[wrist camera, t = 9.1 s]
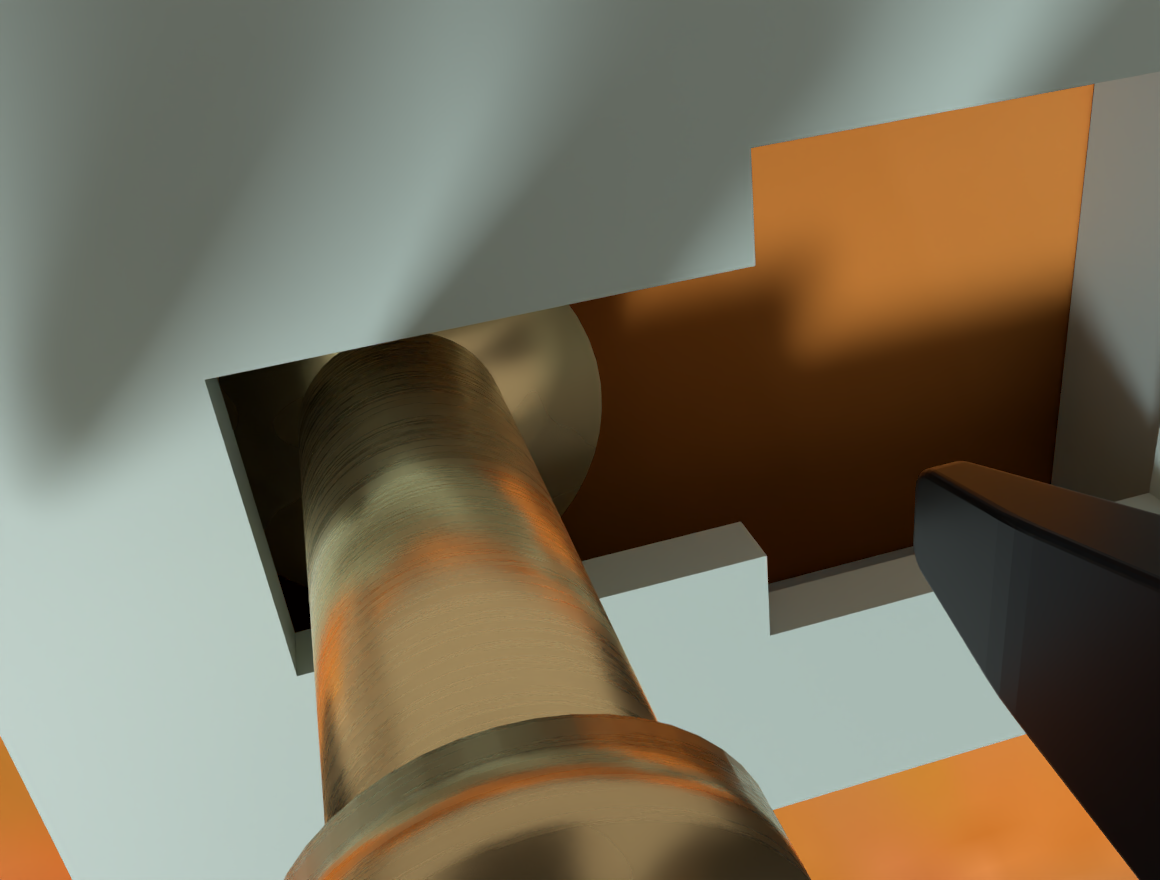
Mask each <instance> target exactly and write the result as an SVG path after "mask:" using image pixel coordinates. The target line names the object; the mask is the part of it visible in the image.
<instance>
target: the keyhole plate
mask: <svg viewBox="0 0 1160 880" xmlns="http://www.w3.org/2000/svg"><path fill="white" fill-rule="evenodd" d="M1090 84H1095V85H1094V94H1093V103H1092V112H1091V122H1090V131H1089V140H1088V149H1087V158H1086V168H1085V177H1084V186H1083V195H1082V204H1081V213H1080V223H1079V232H1078V241H1077V250H1076V259H1075V269H1074V278H1073V287H1072V296H1071V305H1070V314H1069V324H1068V333H1067V342H1066V351H1065V360H1064V370H1063V379H1062V388H1061V397H1060V406H1059V415H1058V425H1057V434H1056V443H1055V452H1054V461H1053V471H1052V480H1051V485H1054V486H1058V487H1062V488H1065V489H1069V490H1073V491H1076V492H1080V493H1083V494H1087V495H1091V496H1094V497H1098V498H1102V499H1105V500H1109V501H1113V502H1116V503H1120V504H1123V505H1127V506H1131V507H1134V508H1138V509H1142V510H1145V511H1149V512H1153V513H1156V514H1160V0H0V736H1V738H2V740H3V742H4V744H5V746H6V748H7V750H8V752H9V754H10V756H11V758H12V760H13V762H14V764H15V766H16V768H17V770H18V772H19V774H20V776H21V778H22V780H23V782H24V784H25V786H26V788H27V790H28V792H29V794H30V796H31V798H32V800H33V802H34V804H35V806H36V808H37V810H38V812H39V814H40V816H41V818H42V820H43V822H44V824H45V826H46V828H47V830H48V832H49V834H50V836H51V838H52V840H53V842H54V844H55V846H56V848H57V850H58V852H59V854H60V856H61V858H62V860H63V862H64V864H65V866H66V868H67V870H68V872H69V874H70V876H71V878H72V880H284V878H285V876H286V874H287V873H288V871H289V870H290V868H291V867H292V865H293V864H294V862H295V861H296V859H297V858H298V857H299V855H300V854H301V852H302V851H303V849H304V848H305V846H306V845H307V844H308V843H309V842H310V841H311V840H312V839H313V837H314V836H315V835H316V834H317V833H318V832H319V831H320V830H321V829H322V827H323V826H324V825H325V821H324V807H323V793H322V778H321V764H320V749H319V735H318V721H317V706H316V692H315V678H314V663H313V649H312V634H311V629H308V630H304V631H300V632H296V633H295V631H294V628H293V625H292V622H291V618H290V615H289V612H288V608H287V605H286V602H285V599H284V595H283V592H282V589H281V586H280V582H279V579H278V576H277V572H276V569H275V566H274V563H273V559H272V556H271V553H270V550H269V546H268V543H267V540H266V536H265V533H264V530H263V527H262V523H261V520H260V517H259V514H258V510H257V507H256V504H255V500H254V497H253V494H252V491H251V487H250V484H249V481H248V478H247V474H246V471H245V468H244V464H243V461H242V458H241V455H240V451H239V448H238V445H237V442H236V438H235V435H234V432H233V429H232V425H231V422H230V419H229V415H228V412H227V409H226V406H225V402H224V399H223V396H222V393H221V389H220V386H219V383H218V379H217V377H221V376H226V375H230V374H235V373H240V372H245V371H250V370H255V369H259V368H264V367H269V366H274V365H279V364H284V363H288V362H293V361H298V360H303V359H308V358H313V357H317V356H322V355H327V354H332V353H337V352H342V351H346V350H351V349H356V348H361V347H366V346H371V345H375V344H380V343H385V342H390V341H395V340H399V339H404V338H409V337H414V336H419V335H424V334H428V333H433V332H438V331H443V330H448V329H453V328H457V327H462V326H467V325H472V324H477V323H482V322H486V321H491V320H496V319H501V318H506V317H511V316H515V315H520V314H525V313H530V312H535V311H540V310H544V309H549V308H554V307H559V306H564V305H569V304H573V303H578V302H583V301H588V300H593V299H598V298H602V297H607V296H612V295H617V294H622V293H627V292H631V291H636V290H641V289H646V288H651V287H656V286H660V285H665V284H670V283H675V282H680V281H685V280H689V279H694V278H699V277H704V276H709V275H713V274H718V273H723V272H728V271H733V270H738V269H742V268H747V267H752V266H755V243H754V218H753V192H752V167H751V148H753V147H759V146H764V145H769V144H775V143H780V142H786V141H791V140H796V139H802V138H807V137H812V136H818V135H823V134H828V133H834V132H839V131H844V130H850V129H855V128H860V127H866V126H871V125H876V124H882V123H887V122H893V121H898V120H903V119H909V118H914V117H919V116H925V115H930V114H935V113H941V112H946V111H951V110H957V109H962V108H967V107H973V106H978V105H983V104H989V103H994V102H999V101H1005V100H1010V99H1016V98H1021V97H1026V96H1032V95H1037V94H1042V93H1048V92H1053V91H1058V90H1064V89H1069V88H1074V87H1080V86H1085V85H1090ZM582 563H583V566H584V568H585V570H586V572H587V574H588V576H589V578H590V580H591V582H592V584H593V587H594V589H595V591H596V593H597V595H598V597H599V599H600V601H601V603H602V605H603V608H604V610H605V612H606V614H607V616H608V618H609V620H610V622H611V624H612V626H613V629H614V631H615V633H616V635H617V637H618V639H619V641H620V643H621V645H622V647H623V650H624V652H625V654H626V656H627V658H628V660H629V662H630V664H631V666H632V668H633V671H634V673H635V675H636V677H637V679H638V681H639V683H640V685H641V687H642V689H643V692H644V694H645V696H646V698H647V700H648V702H649V704H650V706H651V708H652V710H653V713H654V715H655V717H656V719H657V721H658V722H661V723H665V724H670V725H673V726H675V727H678V728H681V729H683V730H686V731H688V732H691V733H694V734H696V735H699V736H701V737H702V738H704V739H706V740H707V741H709V742H711V743H713V744H714V745H716V746H718V747H720V748H721V749H723V750H724V751H725V752H727V753H728V754H729V755H730V756H731V757H733V758H734V759H735V760H736V761H738V762H739V763H740V764H741V765H742V766H743V767H744V768H745V769H746V770H747V772H748V773H749V774H750V775H751V776H752V778H753V779H754V780H755V781H756V782H757V783H758V785H759V787H760V789H761V790H762V792H763V794H764V796H765V798H766V799H767V801H768V803H769V805H770V807H771V808H772V810H774V809H777V808H781V807H784V806H787V805H791V804H794V803H798V802H801V801H804V800H808V799H811V798H814V797H818V796H821V795H824V794H828V793H831V792H834V791H838V790H841V789H844V788H848V787H851V786H854V785H858V784H861V783H864V782H868V781H871V780H874V779H878V778H881V777H884V776H888V775H891V774H894V773H898V772H901V771H904V770H908V769H911V768H914V767H918V766H921V765H924V764H928V763H931V762H934V761H938V760H941V759H944V758H948V757H951V756H954V755H958V754H961V753H964V752H968V751H971V750H974V749H978V748H981V747H984V746H988V745H991V744H994V743H998V742H1001V741H1004V740H1008V739H1011V738H1014V737H1018V736H1021V735H1024V734H1026V733H1025V732H1024V730H1023V729H1022V728H1021V726H1020V725H1019V724H1018V723H1017V721H1016V720H1015V719H1014V717H1013V716H1012V715H1011V713H1010V712H1009V710H1008V709H1007V708H1006V706H1005V705H1004V704H1003V702H1002V701H1001V700H1000V698H999V697H998V695H997V694H996V692H995V691H994V689H993V688H992V686H991V685H990V683H989V682H988V680H987V679H986V677H985V675H984V674H983V672H982V671H981V669H980V667H979V666H978V664H977V662H976V661H975V659H974V657H973V656H972V654H971V653H970V651H969V649H968V648H967V646H966V644H965V643H964V641H963V639H962V638H961V636H960V635H959V633H958V631H957V630H956V628H955V626H954V625H953V623H952V621H951V620H950V618H949V617H948V615H947V613H946V612H945V610H944V608H943V607H942V605H941V603H940V602H939V600H938V599H937V597H936V595H935V594H934V592H933V590H932V589H931V587H930V585H929V584H928V582H927V581H926V579H925V577H924V576H923V574H922V572H921V570H920V568H919V566H918V564H917V561H916V558H915V554H914V548H913V546H912V547H908V548H904V549H900V550H897V551H893V552H889V553H885V554H881V555H877V556H874V557H870V558H866V559H862V560H858V561H854V562H851V563H847V564H843V565H839V566H835V567H832V568H828V569H824V570H820V571H816V572H812V573H809V574H805V575H801V576H797V577H793V578H789V579H786V580H782V581H778V582H774V583H770V584H768V572H767V555H766V554H765V553H764V551H763V550H762V549H761V547H760V546H759V545H758V543H757V542H756V541H755V539H754V538H753V537H752V535H751V534H750V533H749V532H748V530H747V529H746V528H745V526H744V525H743V524H742V522H737V523H733V524H729V525H725V526H721V527H717V528H713V529H709V530H705V531H701V532H697V533H693V534H689V535H685V536H681V537H677V538H673V539H669V540H665V541H661V542H657V543H653V544H649V545H645V546H641V547H637V548H633V549H629V550H625V551H621V552H617V553H613V554H609V555H605V556H601V557H597V558H593V559H589V560H585V561H582Z"/></svg>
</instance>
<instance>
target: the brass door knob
mask: <svg viewBox="0 0 1160 880" xmlns="http://www.w3.org/2000/svg"><path fill="white" fill-rule="evenodd" d="M217 379H218V383H219V386H220V389H221V393H222V396H223V399H224V402H225V406H226V409H227V412H228V415H229V419H230V422H231V425H232V429H233V432H234V435H235V438H236V442H237V445H238V448H239V451H240V455H241V458H242V461H243V464H244V468H245V471H246V474H247V478H248V481H249V484H250V487H251V491H252V494H253V497H254V500H255V504H256V507H257V510H258V514H259V517H260V520H261V523H262V527H263V530H264V533H265V536H266V540H267V543H268V546H269V550H270V553H271V556H272V559H273V563H274V566H275V569H276V572H277V573H278V574H280V575H282V576H284V577H285V578H287V579H289V580H291V581H293V582H296V583H299V584H301V585H304V586H306V587H308V591H309V606H310V620H311V634H312V649H313V663H314V678H315V692H316V706H317V721H318V735H319V749H320V764H321V778H322V793H323V807H324V821H325V825H324V826H323V827H322V829H321V830H320V831H319V832H318V833H317V834H316V835H315V836H314V837H313V839H312V840H311V841H310V842H309V843H308V844H307V845H306V846H305V848H304V849H303V851H302V852H301V854H300V855H299V857H298V858H297V859H296V861H295V862H294V864H293V865H292V867H291V868H290V870H289V871H288V873H287V874H286V876H285V878H284V880H811V879H810V877H809V875H808V873H807V871H806V870H805V868H804V866H803V864H802V862H801V861H800V859H799V857H798V855H797V853H796V852H795V850H794V848H793V846H792V844H791V843H790V841H789V839H788V837H787V835H786V834H785V832H784V830H783V828H782V826H781V825H780V823H779V821H778V819H777V817H776V816H775V814H774V812H773V810H772V808H771V807H770V805H769V803H768V801H767V799H766V798H765V796H764V794H763V792H762V790H761V789H760V787H759V785H758V783H757V782H756V781H755V780H754V779H753V778H752V776H751V775H750V774H749V773H748V772H747V770H746V769H745V768H744V767H743V766H742V765H741V764H740V763H739V762H738V761H736V760H735V759H734V758H733V757H731V756H730V755H729V754H728V753H727V752H725V751H724V750H723V749H721V748H720V747H718V746H716V745H714V744H713V743H711V742H709V741H707V740H706V739H704V738H702V737H701V736H699V735H696V734H694V733H691V732H688V731H686V730H683V729H681V728H678V727H675V726H673V725H670V724H665V723H661V722H658V721H657V719H656V717H655V715H654V713H653V710H652V708H651V706H650V704H649V702H648V700H647V698H646V696H645V694H644V692H643V689H642V687H641V685H640V683H639V681H638V679H637V677H636V675H635V673H634V671H633V668H632V666H631V664H630V662H629V660H628V658H627V656H626V654H625V652H624V650H623V647H622V645H621V643H620V641H619V639H618V637H617V635H616V633H615V631H614V629H613V626H612V624H611V622H610V620H609V618H608V616H607V614H606V612H605V610H604V608H603V605H602V603H601V601H600V599H599V597H598V595H597V593H596V591H595V589H594V587H593V584H592V582H591V580H590V578H589V576H588V574H587V572H586V570H585V568H584V566H583V563H582V561H581V559H580V557H579V555H578V553H577V551H576V549H575V547H574V545H573V543H572V540H571V538H570V536H569V534H568V532H567V530H566V528H565V526H564V524H563V522H562V519H561V517H562V515H563V514H564V512H565V511H566V509H567V508H568V507H569V505H570V504H571V502H572V501H573V499H574V498H575V496H576V495H577V493H578V491H579V489H580V487H581V485H582V483H583V481H584V479H585V478H586V475H587V473H588V470H589V467H590V465H591V462H592V460H593V457H594V454H595V450H596V446H597V441H598V437H599V433H600V424H601V414H602V397H601V382H600V377H599V372H598V366H597V361H596V358H595V356H594V353H593V350H592V347H591V344H590V341H589V338H588V336H587V334H586V332H585V330H584V329H583V327H582V325H581V323H580V321H579V319H578V317H577V316H576V314H575V313H574V311H573V310H572V308H571V307H570V306H569V305H564V306H559V307H554V308H549V309H544V310H540V311H535V312H530V313H525V314H520V315H515V316H511V317H506V318H501V319H496V320H491V321H486V322H482V323H477V324H472V325H467V326H462V327H457V328H453V329H448V330H443V331H438V332H433V333H428V334H424V335H419V336H414V337H409V338H404V339H399V340H395V341H390V342H385V343H380V344H375V345H371V346H366V347H361V348H356V349H351V350H346V351H342V352H337V353H332V354H327V355H322V356H317V357H313V358H308V359H303V360H298V361H293V362H288V363H284V364H279V365H274V366H269V367H264V368H259V369H255V370H250V371H245V372H240V373H235V374H230V375H226V376H221V377H217Z"/></svg>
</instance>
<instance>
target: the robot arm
mask: <svg viewBox="0 0 1160 880" xmlns="http://www.w3.org/2000/svg"><path fill="white" fill-rule="evenodd" d="M913 548H914V554H915V558H916V561H917V564H918V566H919V568H920V570H921V572H922V574H923V576H924V577H925V579H926V581H927V582H928V584H929V585H930V587H931V589H932V590H933V592H934V594H935V595H936V597H937V599H938V600H939V602H940V603H941V605H942V607H943V608H944V610H945V612H946V613H947V615H948V617H949V618H950V620H951V621H952V623H953V625H954V626H955V628H956V630H957V631H958V633H959V635H960V636H961V638H962V639H963V641H964V643H965V644H966V646H967V648H968V649H969V651H970V653H971V654H972V656H973V657H974V659H975V661H976V662H977V664H978V666H979V667H980V669H981V671H982V672H983V674H984V675H985V677H986V679H987V680H988V682H989V683H990V685H991V686H992V688H993V689H994V691H995V692H996V694H997V695H998V697H999V698H1000V700H1001V701H1002V702H1003V704H1004V705H1005V706H1006V708H1007V709H1008V710H1009V712H1010V713H1011V715H1012V716H1013V717H1014V719H1015V720H1016V721H1017V723H1018V724H1019V725H1020V726H1021V728H1022V729H1023V730H1024V732H1025V733H1026V734H1027V735H1028V737H1029V738H1030V739H1031V741H1032V742H1033V743H1034V744H1035V746H1036V747H1037V748H1038V750H1039V751H1040V752H1041V754H1042V755H1043V756H1044V757H1045V759H1046V760H1047V761H1048V763H1049V764H1050V765H1051V766H1052V768H1053V769H1054V770H1055V772H1056V773H1057V774H1058V775H1059V777H1060V778H1061V779H1062V781H1063V782H1064V783H1065V785H1066V786H1067V787H1068V788H1069V790H1070V791H1071V792H1072V794H1073V795H1074V796H1075V797H1076V799H1077V800H1078V801H1079V803H1080V804H1081V805H1082V807H1083V808H1084V809H1085V810H1086V812H1087V813H1088V814H1089V816H1090V817H1091V818H1092V819H1093V821H1094V822H1095V823H1096V825H1097V826H1098V827H1099V828H1100V830H1101V831H1102V832H1103V834H1104V835H1105V836H1106V838H1107V839H1108V840H1109V841H1110V843H1111V844H1112V845H1113V847H1114V848H1115V849H1116V850H1117V852H1118V853H1119V854H1120V856H1121V857H1122V858H1123V859H1124V861H1125V862H1126V863H1127V865H1128V866H1129V867H1130V869H1131V870H1132V871H1133V872H1134V874H1135V875H1136V876H1137V878H1138V879H1139V880H1160V514H1156V513H1153V512H1149V511H1145V510H1142V509H1138V508H1134V507H1131V506H1127V505H1123V504H1120V503H1116V502H1113V501H1109V500H1105V499H1102V498H1098V497H1094V496H1091V495H1087V494H1083V493H1080V492H1076V491H1073V490H1069V489H1065V488H1062V487H1058V486H1054V485H1051V484H1047V483H1043V482H1040V481H1036V480H1033V479H1029V478H1025V477H1022V476H1018V475H1014V474H1011V473H1007V472H1003V471H1000V470H996V469H993V468H989V467H985V466H982V465H978V464H974V463H971V462H967V461H955V462H951V463H947V464H944V465H940V466H936V467H932V468H928V469H925V470H923V471H922V472H921V473H920V475H919V476H918V478H917V481H916V487H915V508H914V534H913Z"/></svg>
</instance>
